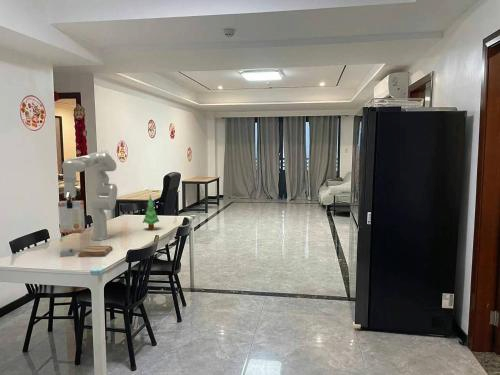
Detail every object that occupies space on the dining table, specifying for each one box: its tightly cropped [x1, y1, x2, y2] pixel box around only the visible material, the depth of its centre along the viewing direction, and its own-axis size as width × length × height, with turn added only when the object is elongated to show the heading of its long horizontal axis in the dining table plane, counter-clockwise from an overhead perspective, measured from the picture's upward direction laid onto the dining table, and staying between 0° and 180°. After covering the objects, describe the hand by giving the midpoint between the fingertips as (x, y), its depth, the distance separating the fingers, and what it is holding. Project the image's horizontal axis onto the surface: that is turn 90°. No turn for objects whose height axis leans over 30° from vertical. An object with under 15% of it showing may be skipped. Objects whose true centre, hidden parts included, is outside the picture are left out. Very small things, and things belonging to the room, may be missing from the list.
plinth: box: [77, 245, 113, 258], centre depth 231 cm, size 16×16×3 cm
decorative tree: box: [142, 194, 160, 231], centre depth 301 cm, size 14×16×30 cm
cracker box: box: [57, 200, 86, 234], centre depth 233 cm, size 14×6×21 cm, turn 91°
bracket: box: [59, 248, 76, 258], centre depth 226 cm, size 5×8×4 cm, turn 112°
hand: (71, 207), depth 232 cm, fingers closed on cracker box, 6 cm apart
